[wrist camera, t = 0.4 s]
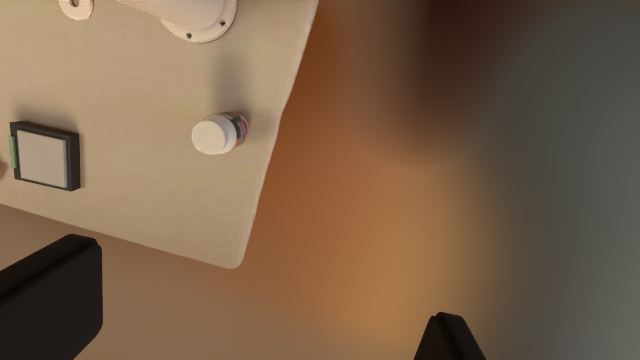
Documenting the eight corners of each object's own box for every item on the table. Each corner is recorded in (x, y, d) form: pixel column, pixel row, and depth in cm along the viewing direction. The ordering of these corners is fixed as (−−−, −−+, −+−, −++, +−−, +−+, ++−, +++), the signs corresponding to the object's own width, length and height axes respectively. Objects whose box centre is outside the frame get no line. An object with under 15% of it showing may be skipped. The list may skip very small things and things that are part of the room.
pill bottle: (249, 147, 50) (229, 161, 41) (216, 143, 50) (187, 156, 41) (250, 113, 48) (229, 119, 39) (215, 109, 49) (186, 114, 39)
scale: (21, 121, 51) (5, 122, 48) (79, 134, 51) (66, 136, 49) (26, 175, 54) (11, 179, 51) (80, 188, 54) (68, 192, 52)
